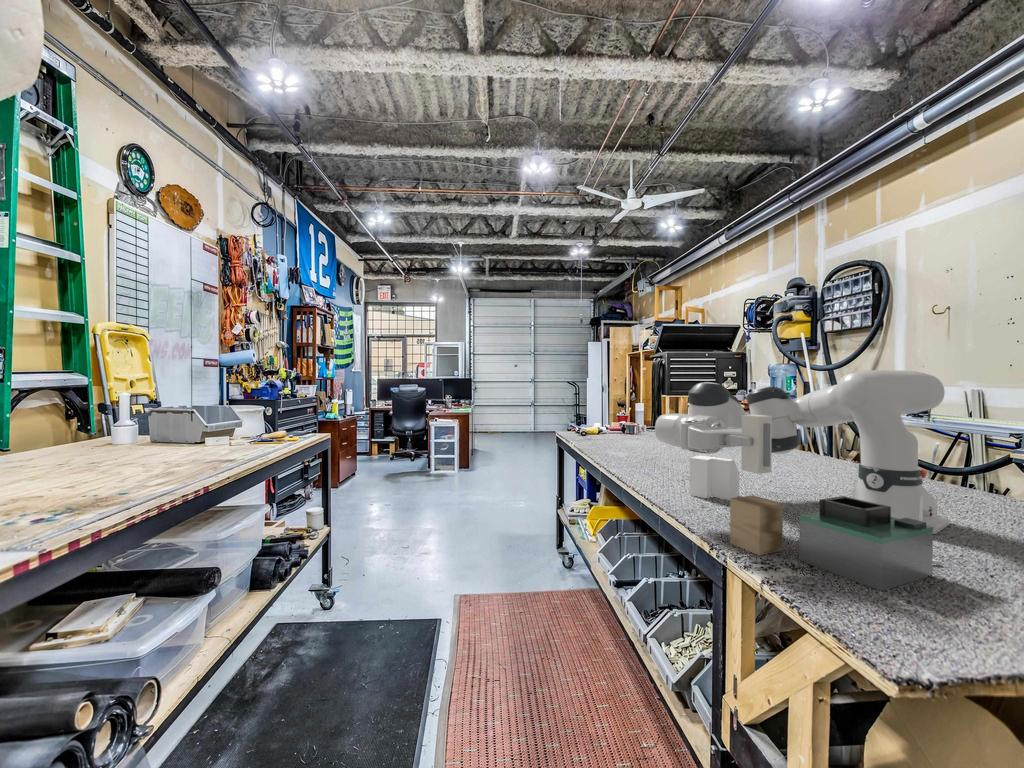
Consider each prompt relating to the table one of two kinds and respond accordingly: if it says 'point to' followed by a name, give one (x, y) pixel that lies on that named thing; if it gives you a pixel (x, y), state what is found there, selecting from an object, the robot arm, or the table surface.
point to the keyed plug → (757, 443)
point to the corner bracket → (714, 477)
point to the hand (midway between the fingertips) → (760, 441)
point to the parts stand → (756, 524)
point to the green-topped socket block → (866, 543)
